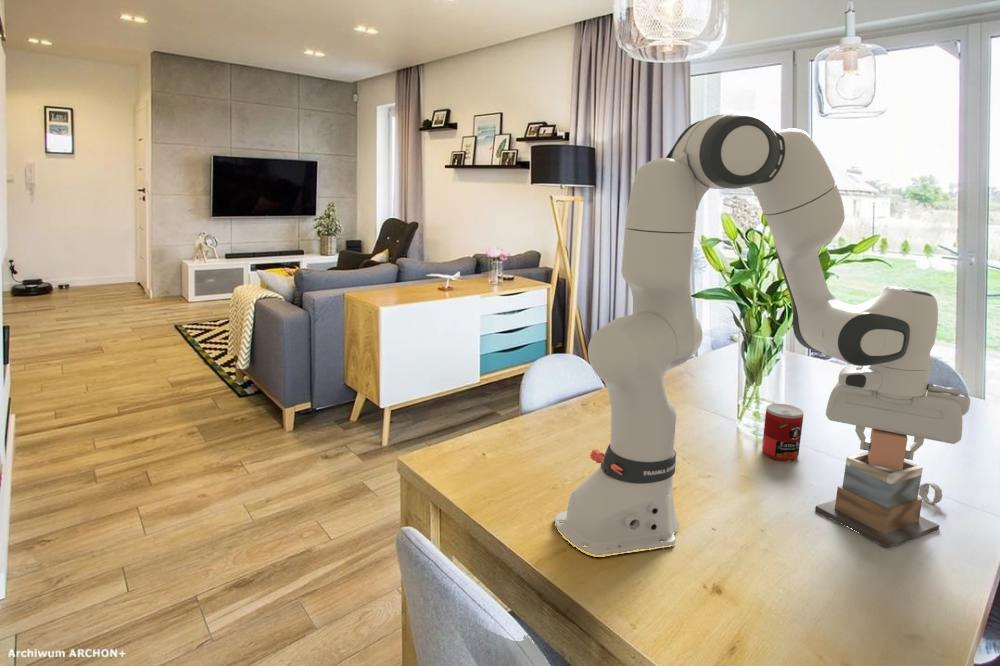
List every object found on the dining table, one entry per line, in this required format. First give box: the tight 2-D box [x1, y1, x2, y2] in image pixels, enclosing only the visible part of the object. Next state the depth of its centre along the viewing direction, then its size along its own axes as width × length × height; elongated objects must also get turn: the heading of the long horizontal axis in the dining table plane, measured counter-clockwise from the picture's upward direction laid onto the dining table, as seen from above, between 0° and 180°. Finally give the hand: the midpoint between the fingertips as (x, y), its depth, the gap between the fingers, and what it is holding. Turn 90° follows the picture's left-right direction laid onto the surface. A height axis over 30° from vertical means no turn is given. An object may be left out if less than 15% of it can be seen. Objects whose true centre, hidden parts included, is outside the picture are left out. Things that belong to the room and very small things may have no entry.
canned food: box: [761, 403, 804, 462], centre depth 138 cm, size 8×8×11 cm
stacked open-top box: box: [814, 451, 940, 550], centre depth 110 cm, size 14×14×12 cm
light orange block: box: [867, 428, 909, 471], centre depth 108 cm, size 5×5×6 cm
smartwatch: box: [918, 482, 943, 505], centre depth 117 cm, size 4×2×4 cm, turn 14°
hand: (885, 453), depth 108 cm, fingers closed on light orange block, 5 cm apart
